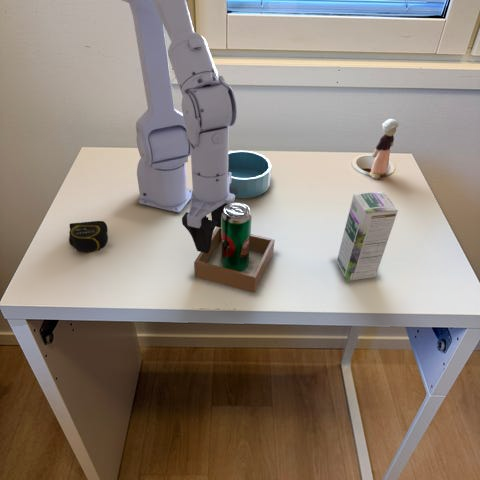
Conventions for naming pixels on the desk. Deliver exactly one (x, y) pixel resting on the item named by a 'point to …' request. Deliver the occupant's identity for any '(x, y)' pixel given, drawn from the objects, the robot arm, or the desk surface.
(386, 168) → the grandmother figurine
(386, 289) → the desk surface
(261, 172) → the bowl
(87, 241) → the tape measure
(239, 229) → the soda can
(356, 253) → the syrup box
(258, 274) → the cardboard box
